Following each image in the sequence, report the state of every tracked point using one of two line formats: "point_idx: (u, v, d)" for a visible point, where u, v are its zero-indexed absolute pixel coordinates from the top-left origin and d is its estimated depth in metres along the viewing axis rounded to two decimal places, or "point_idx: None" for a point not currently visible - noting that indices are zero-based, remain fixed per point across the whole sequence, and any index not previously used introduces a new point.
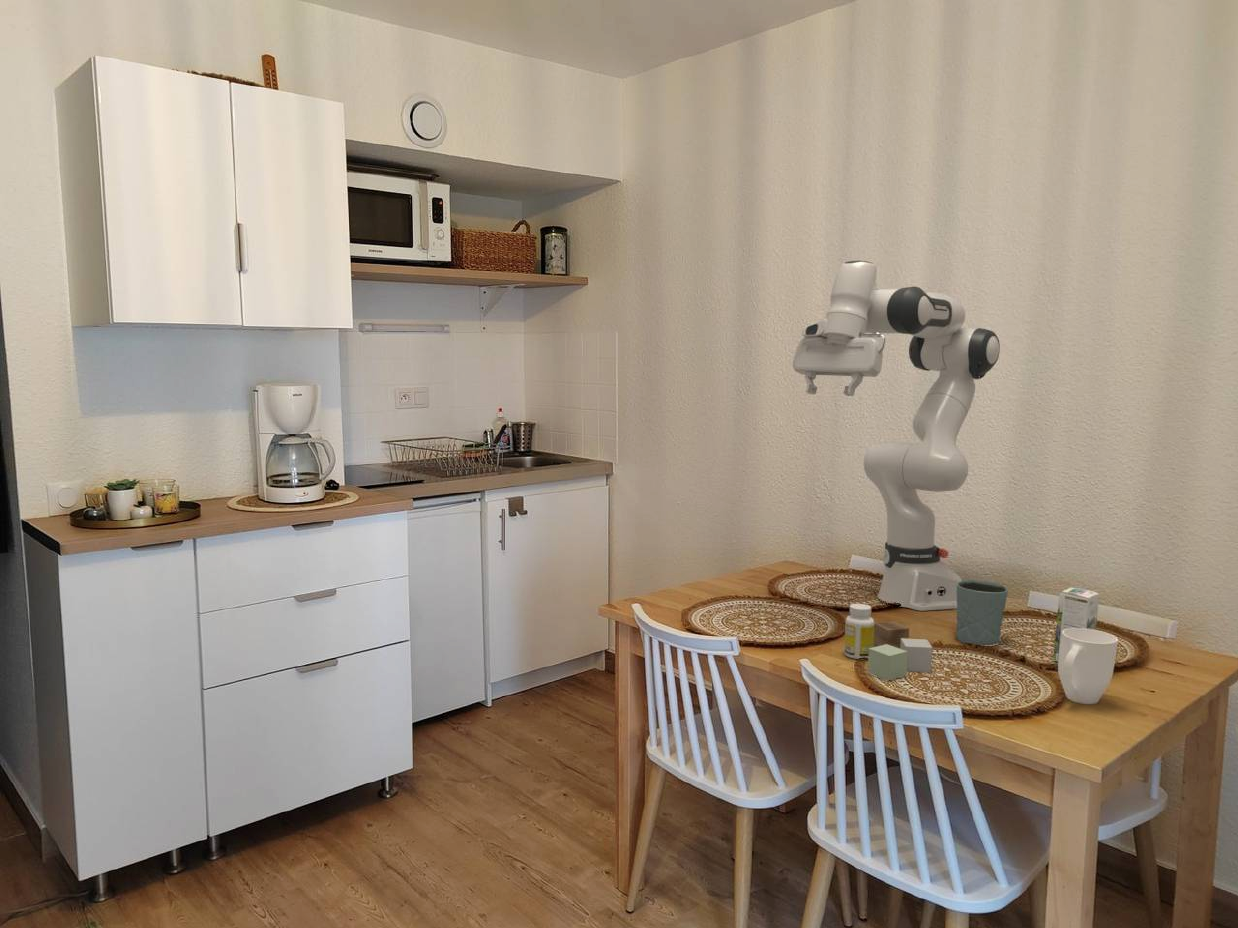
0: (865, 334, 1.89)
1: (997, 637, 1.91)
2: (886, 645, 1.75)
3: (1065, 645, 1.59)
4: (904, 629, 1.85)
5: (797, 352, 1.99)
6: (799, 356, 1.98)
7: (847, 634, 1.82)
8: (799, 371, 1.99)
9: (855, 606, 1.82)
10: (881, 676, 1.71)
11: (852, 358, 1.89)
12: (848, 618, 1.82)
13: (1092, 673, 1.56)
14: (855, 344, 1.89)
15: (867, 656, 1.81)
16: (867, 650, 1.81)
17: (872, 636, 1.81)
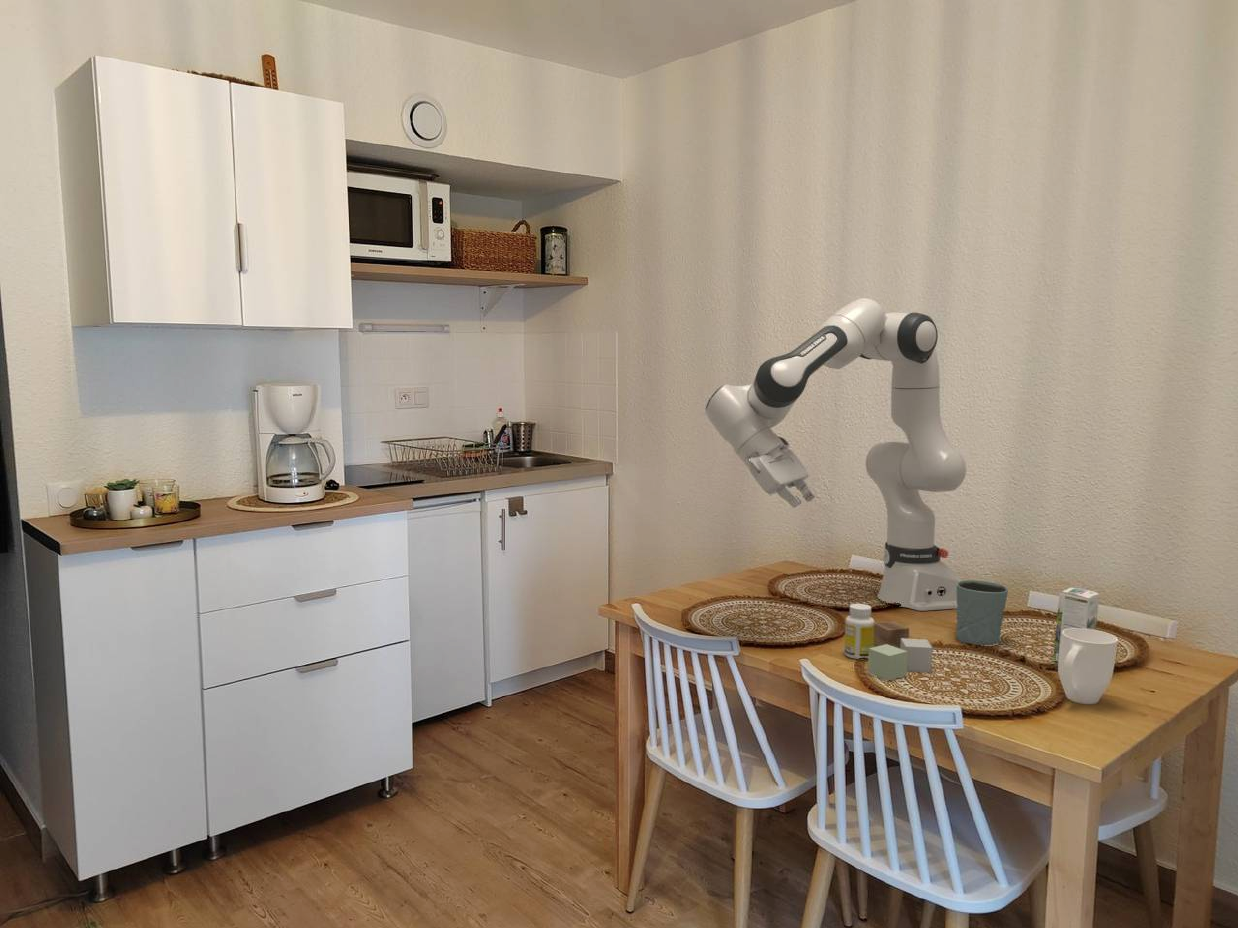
0: None
1: (997, 637, 1.91)
2: (886, 645, 1.75)
3: (1065, 645, 1.59)
4: (904, 629, 1.85)
5: None
6: None
7: (847, 634, 1.82)
8: None
9: (855, 606, 1.82)
10: (881, 676, 1.71)
11: None
12: (848, 618, 1.82)
13: (1092, 673, 1.56)
14: None
15: (867, 656, 1.81)
16: (867, 650, 1.81)
17: (872, 636, 1.81)
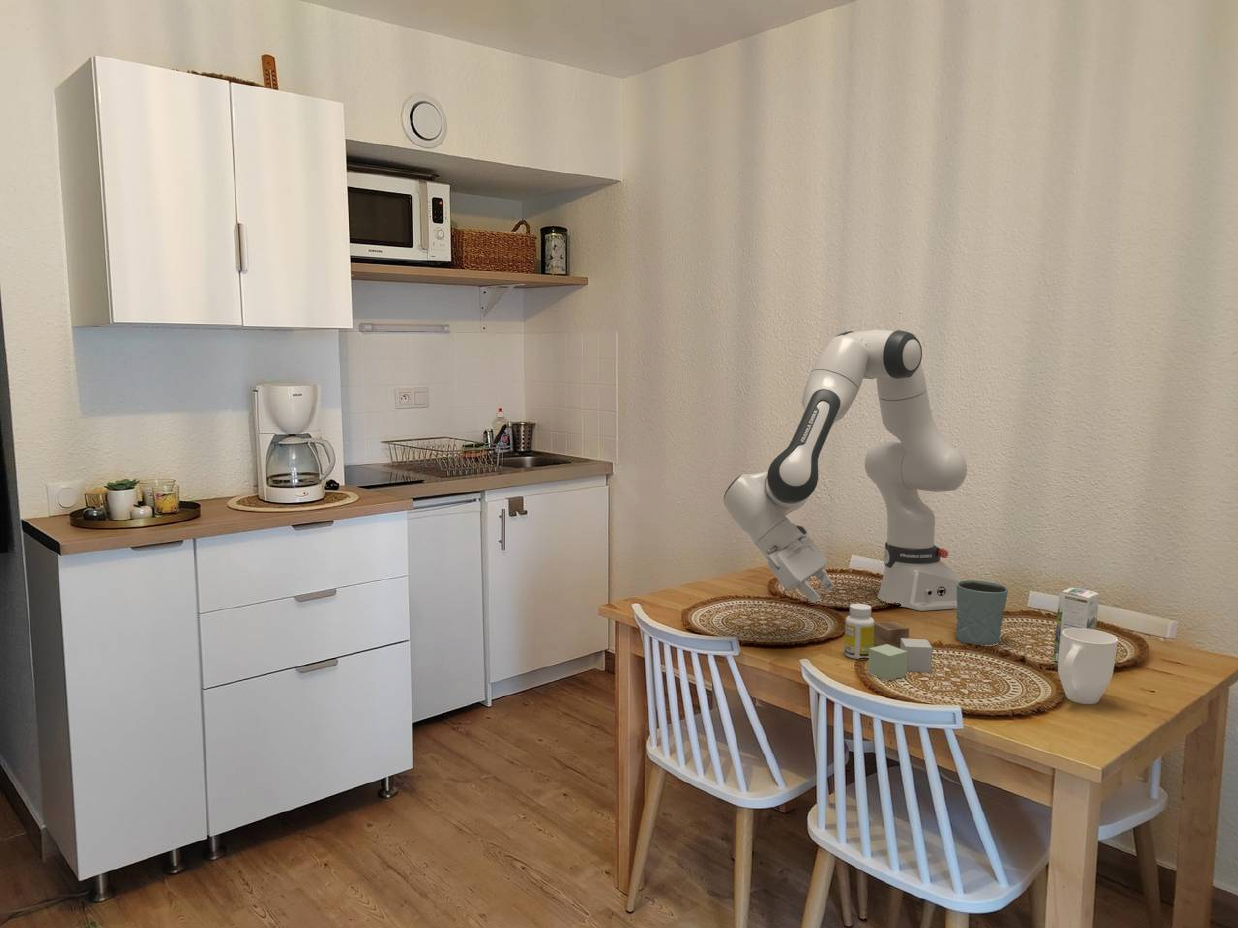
0: None
1: (997, 637, 1.91)
2: (886, 645, 1.75)
3: (1065, 645, 1.59)
4: (904, 629, 1.85)
5: None
6: None
7: (847, 634, 1.82)
8: None
9: (855, 606, 1.82)
10: (881, 676, 1.71)
11: None
12: (848, 618, 1.82)
13: (1092, 673, 1.56)
14: None
15: (867, 656, 1.81)
16: (867, 650, 1.81)
17: (872, 636, 1.81)
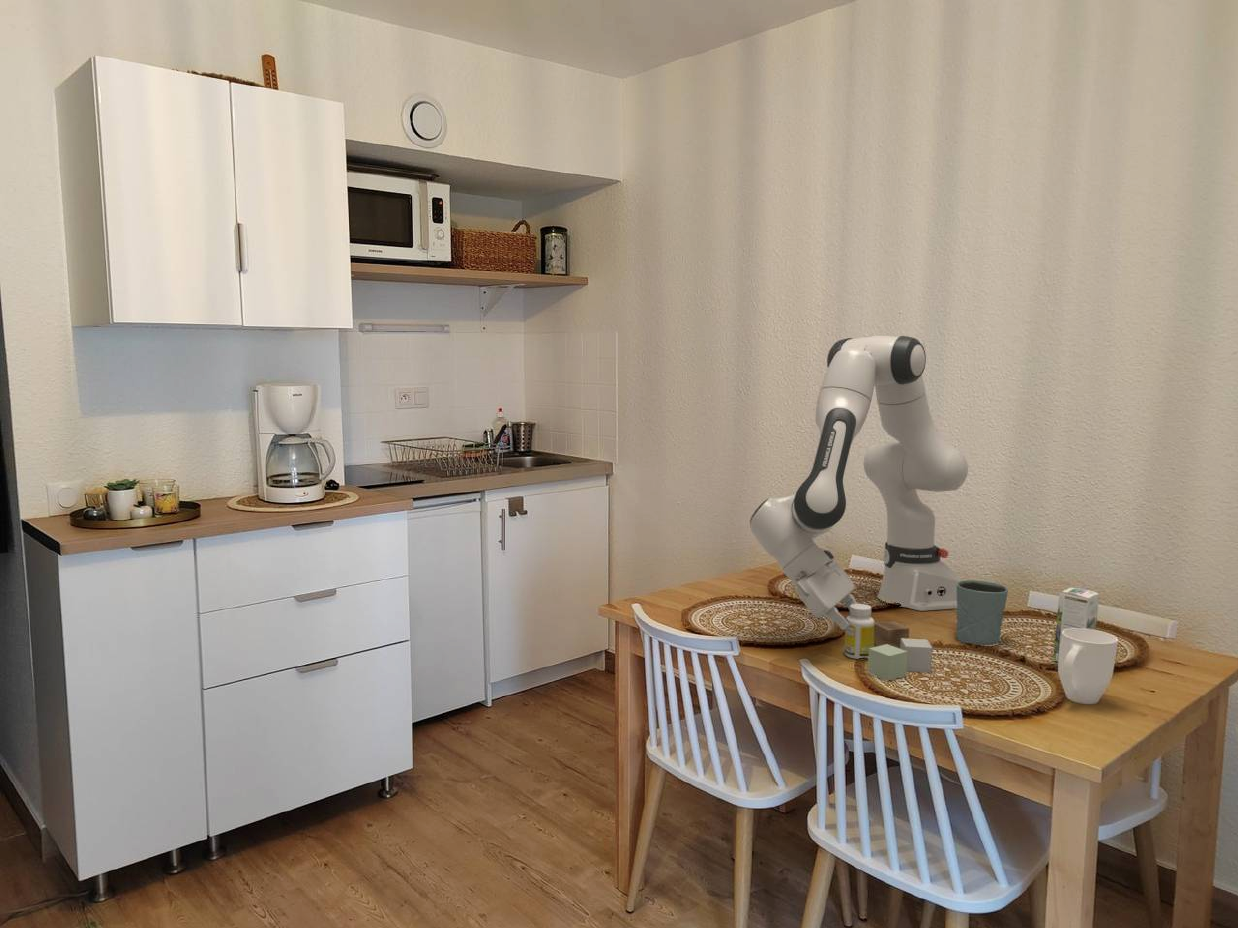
0: None
1: (997, 637, 1.91)
2: (886, 645, 1.75)
3: (1065, 645, 1.59)
4: (904, 629, 1.85)
5: None
6: None
7: (847, 634, 1.82)
8: None
9: (855, 606, 1.82)
10: (881, 676, 1.71)
11: None
12: (848, 618, 1.82)
13: (1092, 673, 1.56)
14: None
15: (867, 656, 1.81)
16: (867, 650, 1.81)
17: (872, 636, 1.81)
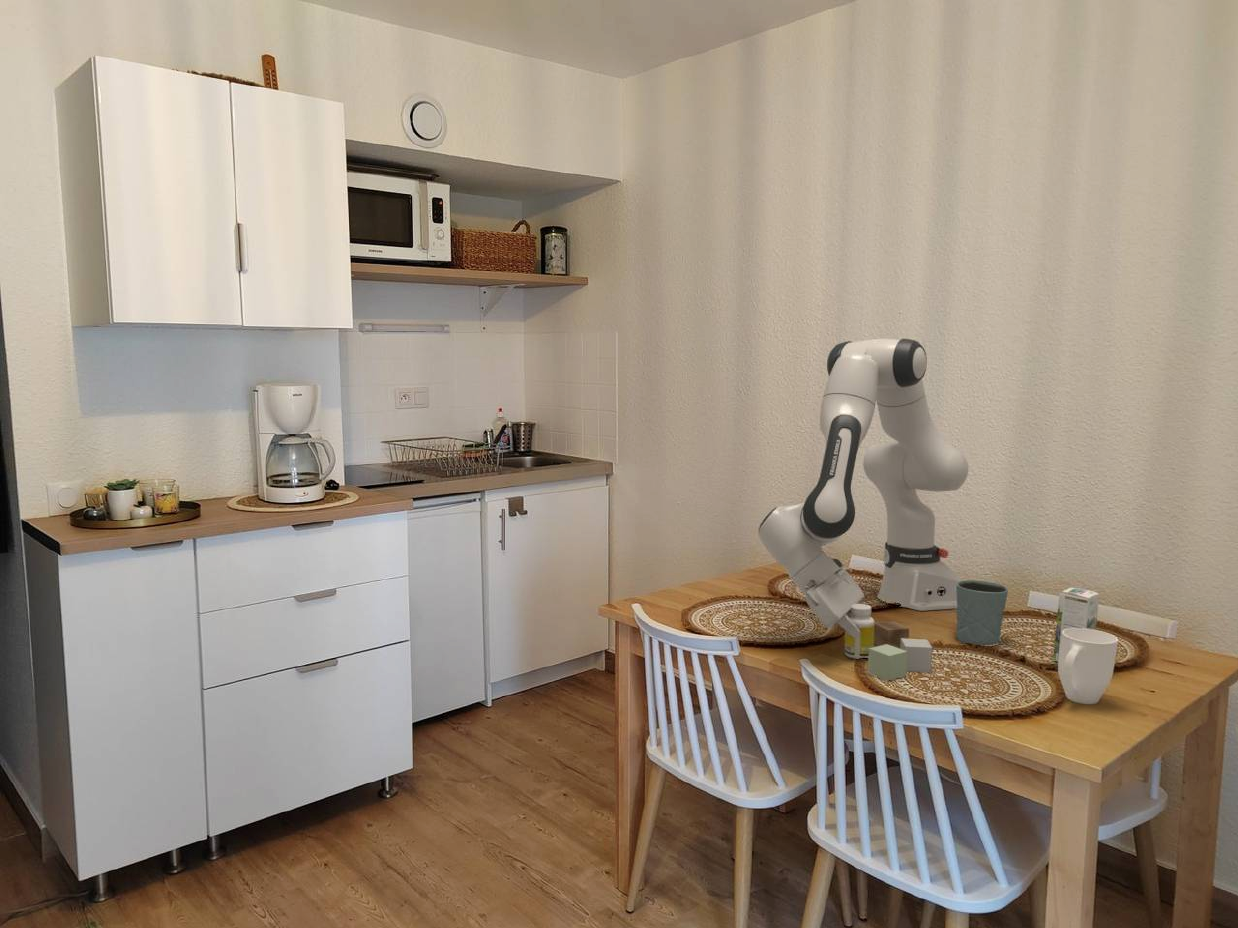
0: None
1: (997, 637, 1.91)
2: (886, 645, 1.75)
3: (1065, 645, 1.59)
4: (904, 629, 1.85)
5: None
6: None
7: (847, 634, 1.82)
8: None
9: (855, 606, 1.82)
10: (881, 676, 1.71)
11: None
12: None
13: (1092, 673, 1.56)
14: None
15: (867, 656, 1.81)
16: (867, 650, 1.81)
17: (872, 636, 1.81)
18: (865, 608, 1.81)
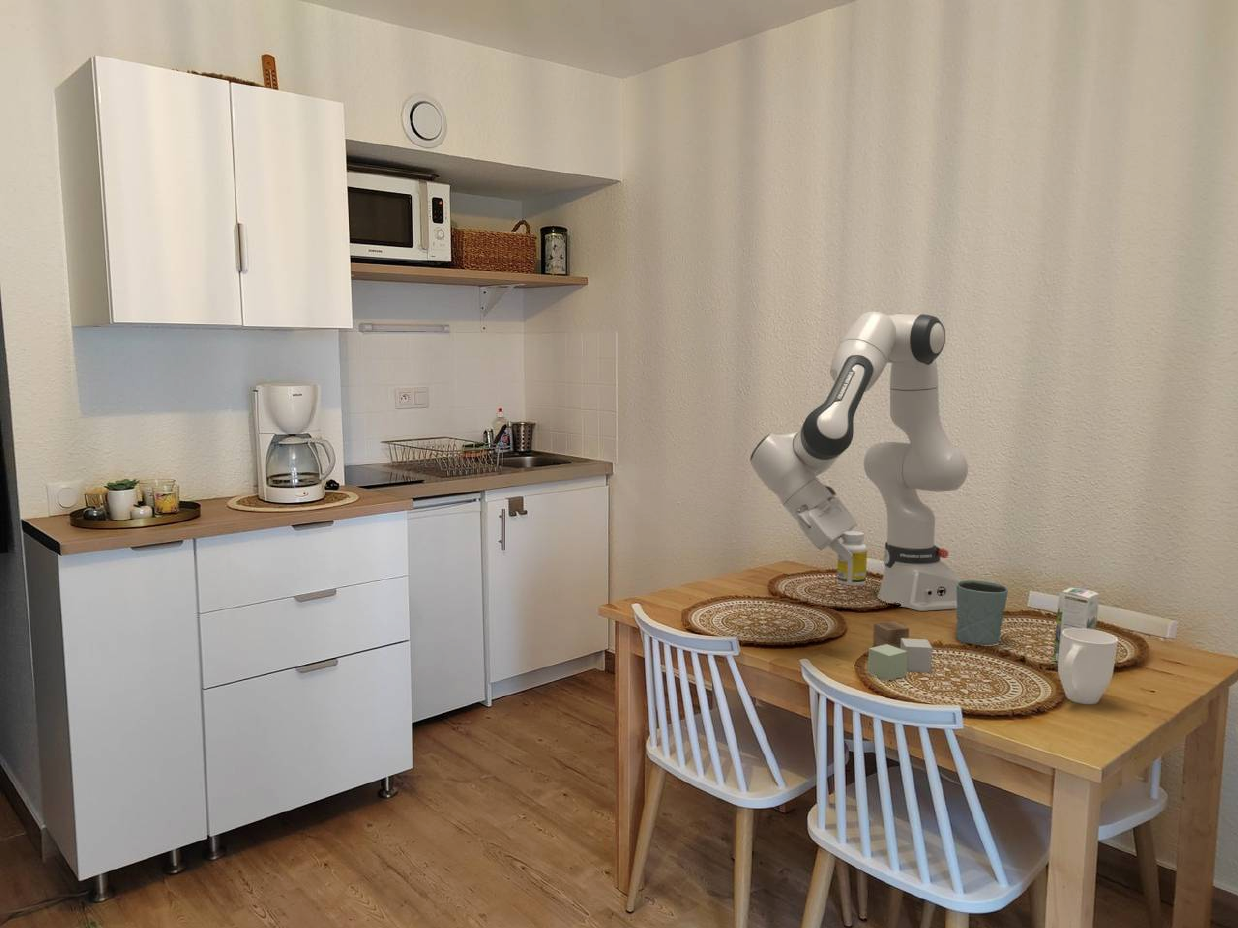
0: None
1: (997, 637, 1.91)
2: (886, 645, 1.75)
3: (1065, 645, 1.59)
4: (904, 629, 1.85)
5: None
6: None
7: (840, 561, 1.81)
8: None
9: (848, 532, 1.82)
10: (881, 676, 1.71)
11: None
12: None
13: (1092, 673, 1.56)
14: None
15: (860, 582, 1.80)
16: (860, 576, 1.80)
17: (865, 562, 1.80)
18: (858, 534, 1.80)
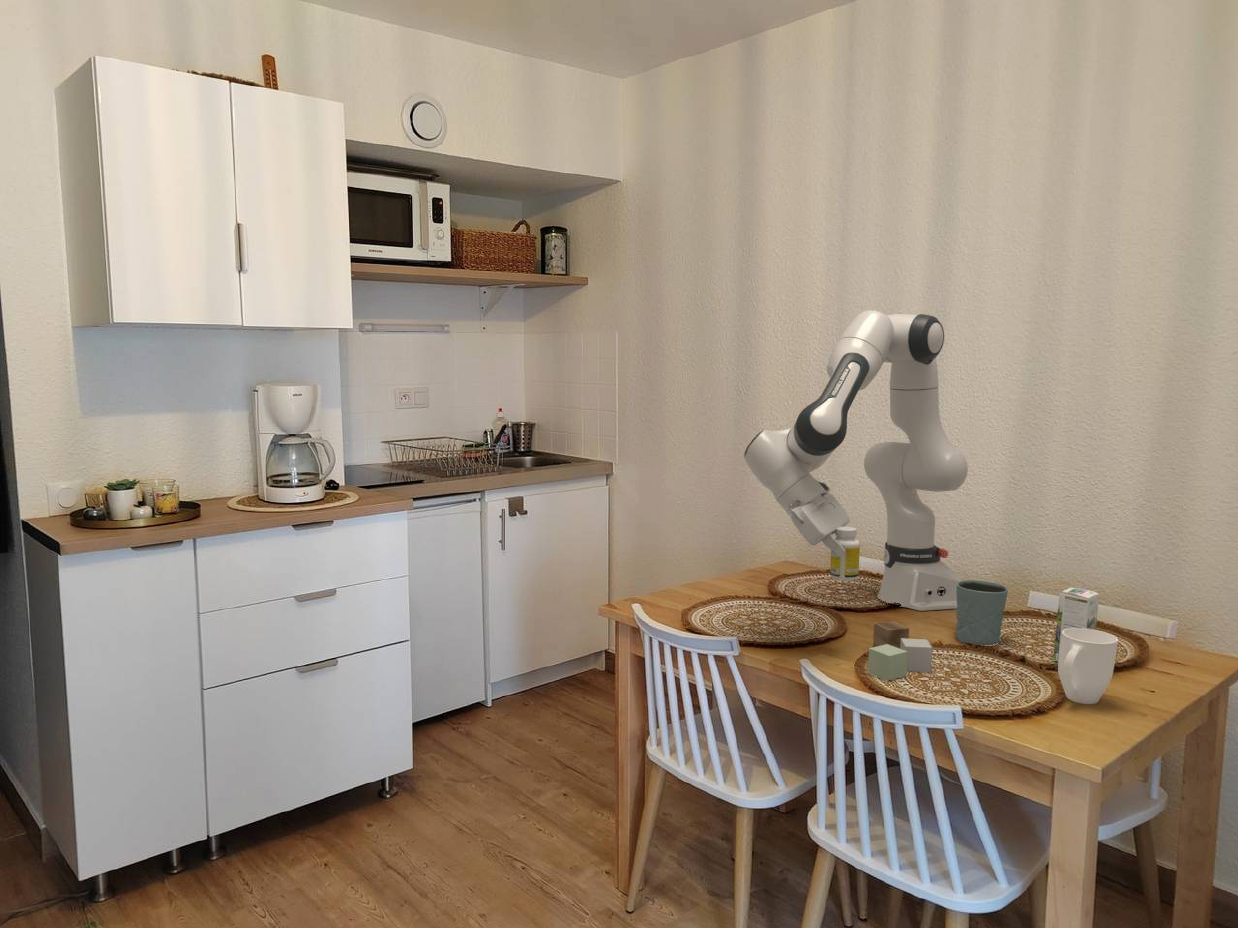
0: None
1: (997, 637, 1.91)
2: (886, 645, 1.75)
3: (1065, 645, 1.59)
4: (904, 629, 1.85)
5: None
6: None
7: (832, 556, 1.82)
8: None
9: (841, 528, 1.82)
10: (881, 676, 1.71)
11: None
12: None
13: (1092, 673, 1.56)
14: None
15: (852, 577, 1.81)
16: (852, 571, 1.81)
17: (857, 558, 1.81)
18: (850, 530, 1.81)
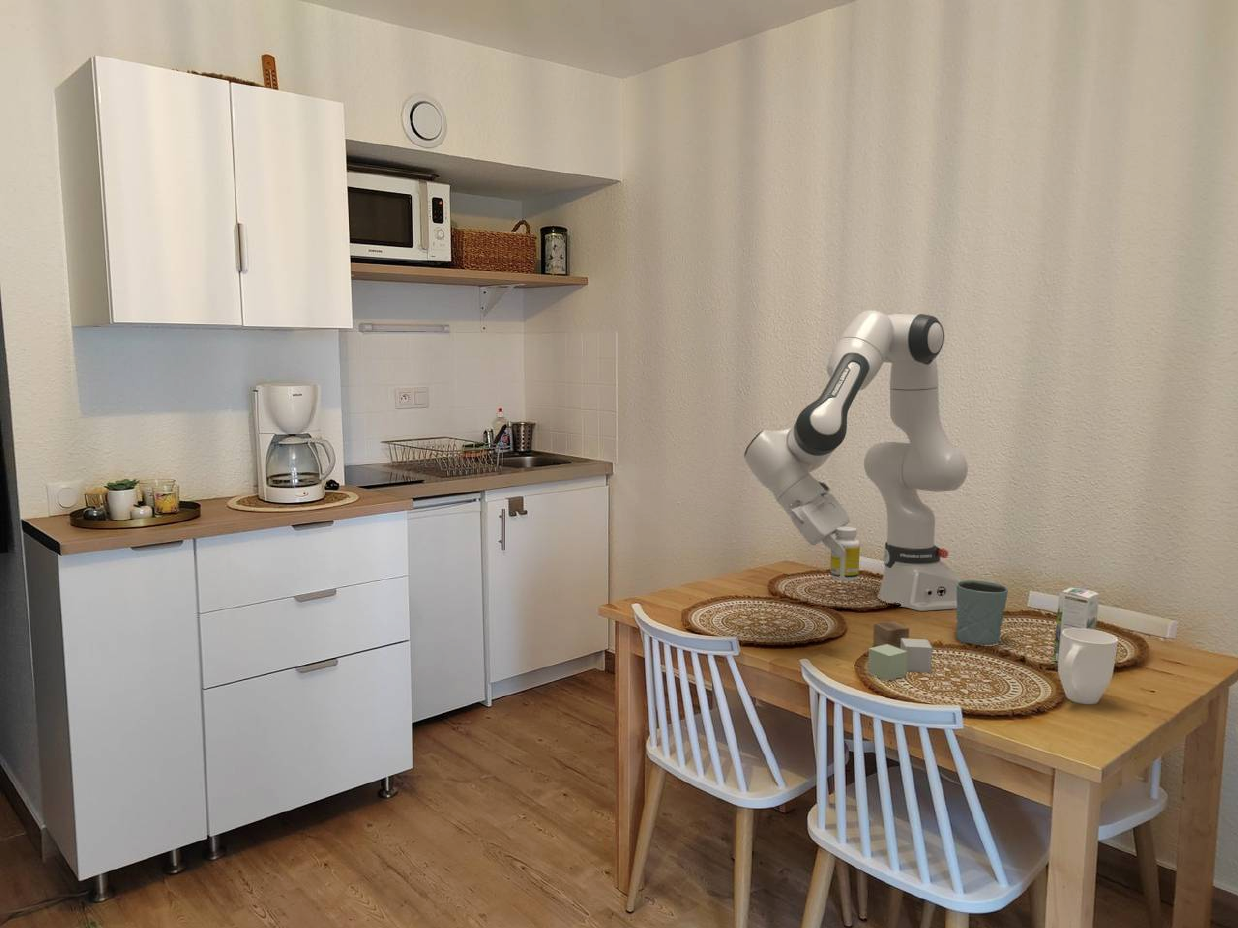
0: None
1: (997, 637, 1.91)
2: (886, 645, 1.75)
3: (1065, 645, 1.59)
4: (904, 629, 1.85)
5: None
6: None
7: (832, 556, 1.82)
8: None
9: (840, 528, 1.82)
10: (881, 676, 1.71)
11: None
12: None
13: (1092, 673, 1.56)
14: None
15: (852, 577, 1.81)
16: (852, 571, 1.81)
17: (857, 558, 1.81)
18: (850, 530, 1.81)
